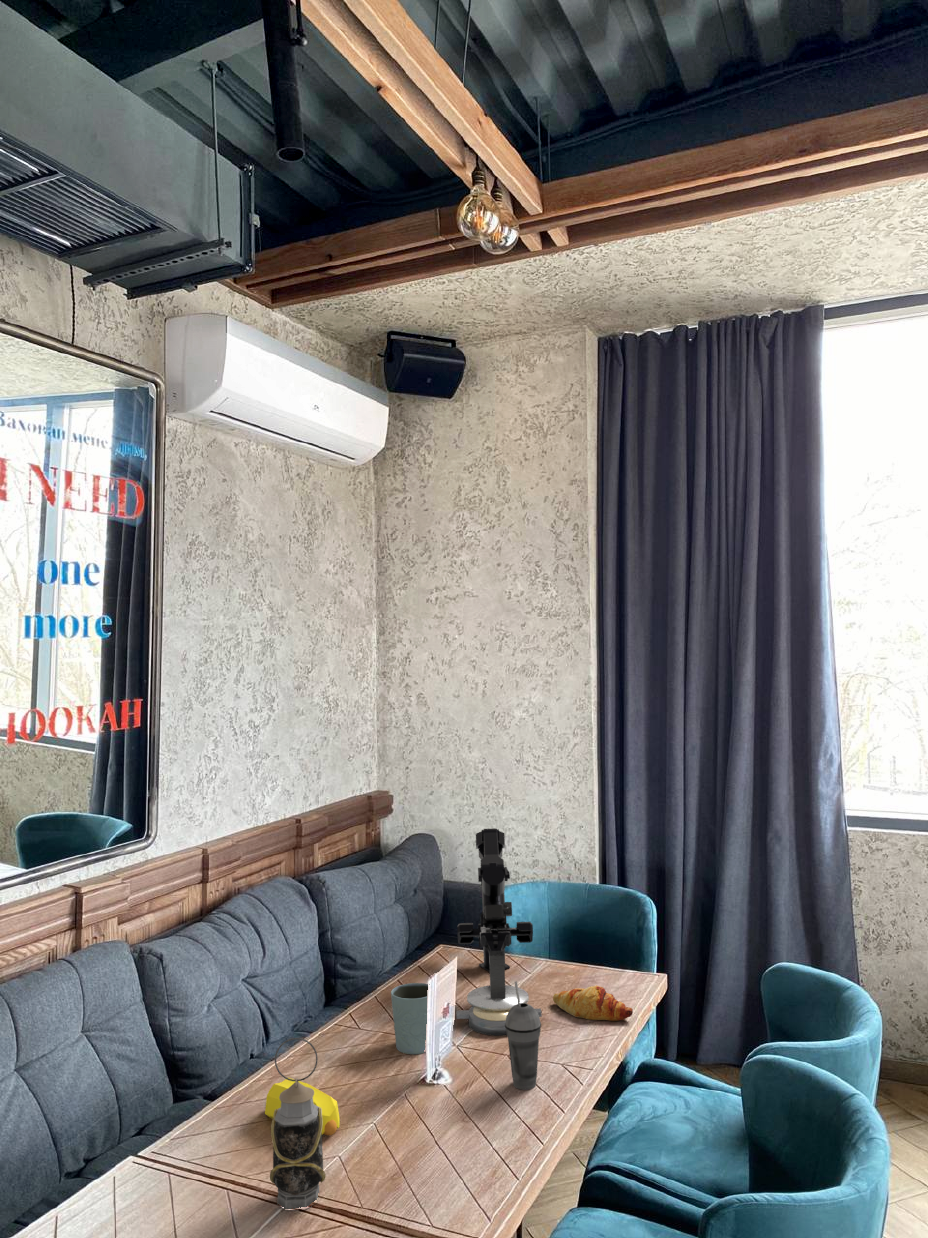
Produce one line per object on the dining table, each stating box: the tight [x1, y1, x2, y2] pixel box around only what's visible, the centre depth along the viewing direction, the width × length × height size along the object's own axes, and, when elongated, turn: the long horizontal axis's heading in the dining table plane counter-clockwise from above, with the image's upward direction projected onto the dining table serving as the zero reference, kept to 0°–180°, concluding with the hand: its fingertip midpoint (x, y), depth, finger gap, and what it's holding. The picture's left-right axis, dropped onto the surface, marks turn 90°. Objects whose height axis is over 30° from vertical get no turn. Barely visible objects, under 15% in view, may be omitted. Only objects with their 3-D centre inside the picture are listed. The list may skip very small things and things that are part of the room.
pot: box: [455, 1006, 543, 1037], centre depth 213 cm, size 14×20×3 cm
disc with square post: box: [466, 951, 530, 1011], centre depth 220 cm, size 15×15×11 cm
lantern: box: [269, 1037, 326, 1210], centre depth 146 cm, size 9×8×25 cm
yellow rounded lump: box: [264, 1077, 340, 1137], centre depth 170 cm, size 18×7×8 cm
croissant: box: [552, 984, 633, 1022], centre depth 218 cm, size 21×10×8 cm, turn 55°
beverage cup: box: [505, 980, 542, 1091], centre depth 183 cm, size 7×7×20 cm
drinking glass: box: [390, 982, 429, 1055], centre depth 202 cm, size 10×10×12 cm
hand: (496, 965), depth 224 cm, fingers closed
